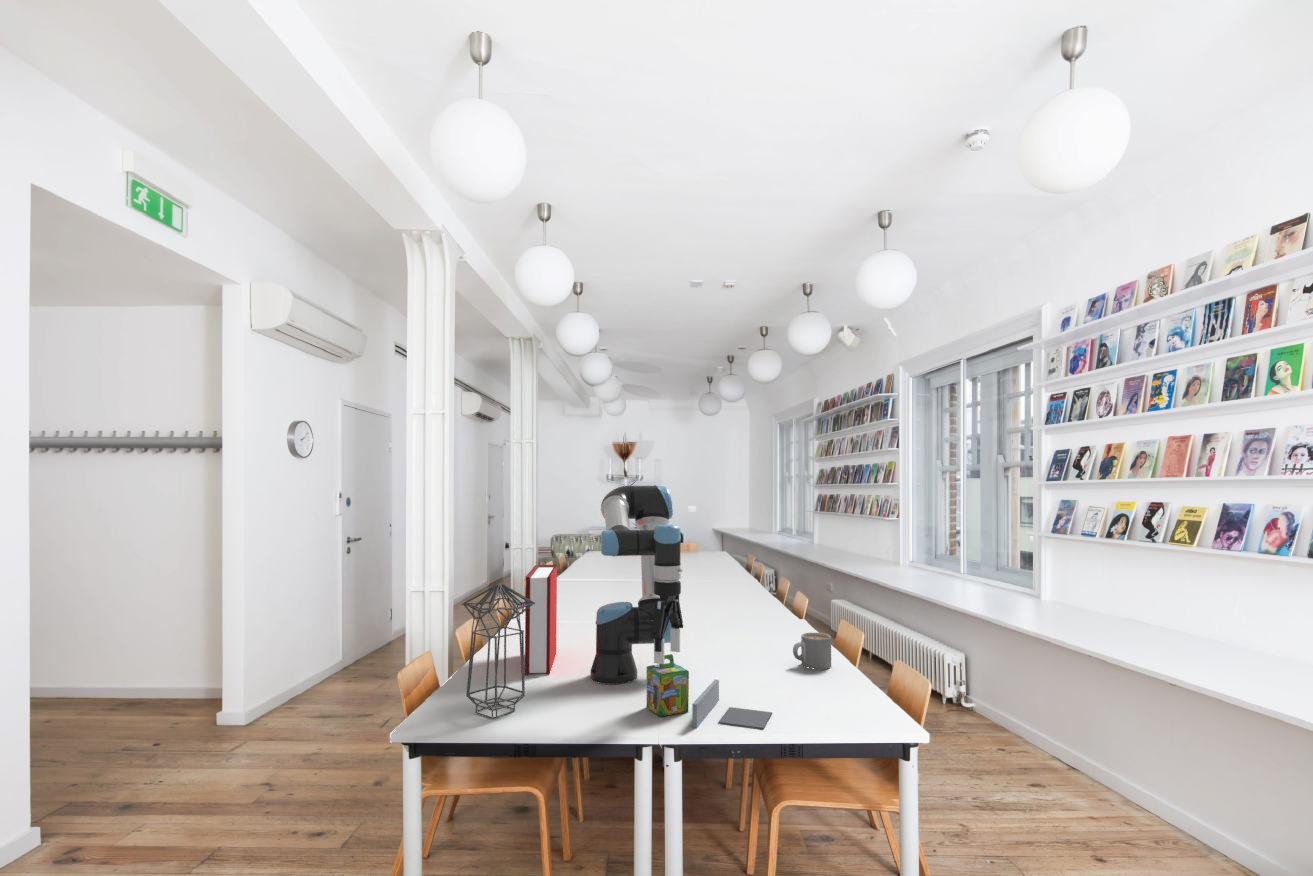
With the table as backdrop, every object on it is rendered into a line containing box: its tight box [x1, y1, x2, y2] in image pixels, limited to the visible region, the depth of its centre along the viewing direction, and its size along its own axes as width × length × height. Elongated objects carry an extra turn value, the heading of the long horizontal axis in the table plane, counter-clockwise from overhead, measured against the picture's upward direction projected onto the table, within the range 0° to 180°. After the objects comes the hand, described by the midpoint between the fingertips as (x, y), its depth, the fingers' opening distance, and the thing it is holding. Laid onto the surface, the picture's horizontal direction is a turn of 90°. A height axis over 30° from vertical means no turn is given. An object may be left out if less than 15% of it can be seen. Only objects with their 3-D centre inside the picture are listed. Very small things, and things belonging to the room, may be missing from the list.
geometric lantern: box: [461, 583, 535, 720], centre depth 188 cm, size 16×16×35 cm
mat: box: [717, 706, 773, 730], centre depth 181 cm, size 12×12×1 cm
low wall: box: [691, 679, 720, 729], centre depth 185 cm, size 1×22×6 cm, turn 160°
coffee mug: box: [792, 632, 832, 670], centre depth 231 cm, size 13×10×10 cm
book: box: [524, 564, 558, 676], centre depth 234 cm, size 27×8×32 cm, turn 4°
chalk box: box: [646, 653, 690, 718], centre depth 188 cm, size 9×9×15 cm
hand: (667, 657), depth 188 cm, fingers open, 13 cm apart
